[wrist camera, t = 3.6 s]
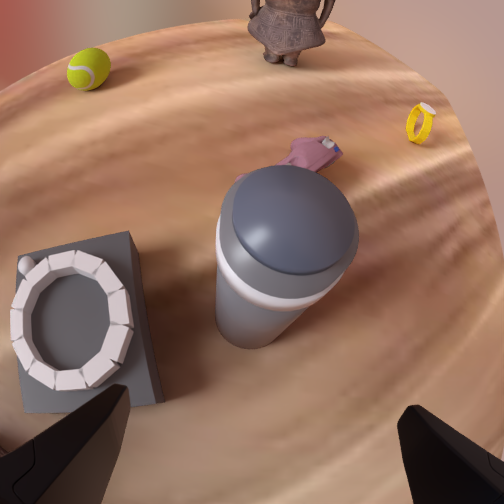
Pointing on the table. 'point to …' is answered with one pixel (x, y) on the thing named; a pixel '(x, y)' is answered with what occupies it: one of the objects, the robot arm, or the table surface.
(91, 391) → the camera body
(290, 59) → the clay figurine
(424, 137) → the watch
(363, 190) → the table surface
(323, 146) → the video game controller
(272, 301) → the grey travel tumbler
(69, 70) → the tennis ball
